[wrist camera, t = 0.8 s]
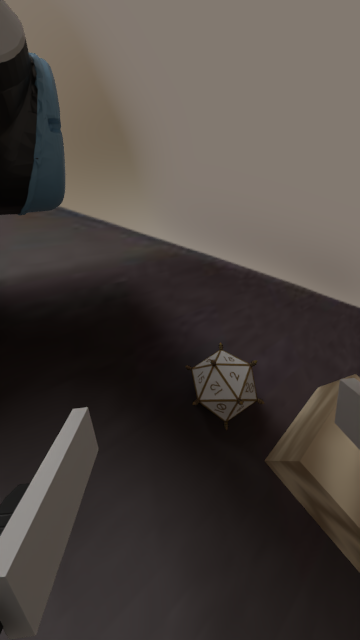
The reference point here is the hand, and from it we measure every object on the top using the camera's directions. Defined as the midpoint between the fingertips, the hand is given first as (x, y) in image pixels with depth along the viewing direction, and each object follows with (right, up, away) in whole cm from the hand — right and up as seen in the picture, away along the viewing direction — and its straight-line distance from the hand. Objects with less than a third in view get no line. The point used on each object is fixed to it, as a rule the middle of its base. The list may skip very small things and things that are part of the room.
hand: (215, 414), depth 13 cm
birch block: (+18, -14, +18) cm, 29 cm away
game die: (+2, -5, +19) cm, 20 cm away
